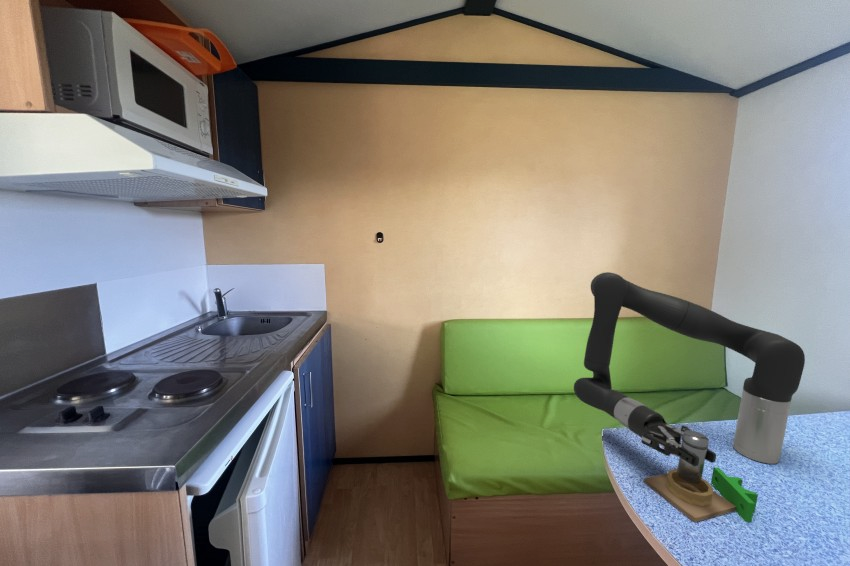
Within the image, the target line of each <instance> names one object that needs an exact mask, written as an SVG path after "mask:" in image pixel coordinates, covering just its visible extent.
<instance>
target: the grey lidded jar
mask: <svg viewBox="0 0 850 566" xmlns="http://www.w3.org/2000/svg"><path fill="white" fill-rule="evenodd" d="M681 437H682V438H681V443H682V445H681V447H684V448H685V449H687V450H688V451H690V452H692V453H693V454H695V455H696V456H698V457H699V463H698V466H693V465H691V464H690V463H688V462H686V461H685V460H683V459H682V458H680V457H679V456H678V457H679V458H678V463H677V468H676V469H677V474H678V476H679V477H681V478H682V479H683V480H685V481H687V482H690V483H694V484H699V483H701V479H702V478H703V475H704V474H703V473H704V468H705V463H706V459H705V458H706V452H707V449H709V441H710V440H709V438H708V437H707V436H706V435H704V434H703V433H700V432H698V431H695V430H692V431H691V429H690V430H686V431H684V434H683V436H681Z"/></svg>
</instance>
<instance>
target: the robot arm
mask: <svg viewBox="0 0 850 566" xmlns="http://www.w3.org/2000/svg"><path fill="white" fill-rule="evenodd" d="M590 292H591V294H592V296H593V301H594V304H593V306H594V307H593V311H594V312H593V319H592V324H591V327H590V330H589V334H588V338H587V341H586V346H585V353H584V359H583V367H584V368H585V369H586V370H588V371H590V372H592V377H580V378H578V379H576V380H575V382H574V383H573V392H574V395H575V396H576V397H577V398H578V400H580V401H581V402H582V403H584V404H586V405H587V406H591V407H593V408H595V409H597V410H600V411H603V412H605V413H606V414H608V415H609V416H611V418H612V419H613V418H614V419H615V420H616V421H618V422H619V424H621V425H622V426H624V427H626V429H627V430H630V431H631V432H632V433H634V434H635V435H637V436H638V437H640V438H641V443H642V444H643V445H645V446H647V447H649V448H651V449H653V450H655V451H657V452H659V453H661V454H663V455H665V456H666V457H669V456H670V455H672V456H674V457H680V458H682V459H683V460H685V461H686V462H688V463H690V464H691V465H693V466H698V463H699V457H698V456H696V455H695V454H693V453H692V452H690V451H688V450H687V449H685V448H684V447H681V445H682V442H681V441H682V436H683V434H684V431H686V430H691V429H690V428H689V427H688V426H686V425H681V427H680V428H678V427H677V428H676V426H674V425H672V424H668V423H667V422H666V420H665V418H664V416H663V415H662V414H660V413H659V412H657V411H655V410H654V409H652V408H650V407H648V406H647V405H645V404H643V403H642V402H640V401H637V400H636V399H633V398H631V397H629V396H628V395H625V394H624V393H622V392H620V391H619V390H615V389H612V381H611V380H612V378H611V371H610V365H611V358H612V355H613V354H612V353H613V347H614V346H613V345H614V339H615V332H616V327H617V323H618V319H619V315H620V312H621V310H622V308H626V309H628V310H631V311H633V312H635V313H637V314H640V315H641V316H642V317H644V318H647V319H648V320H650V321H652V322H654V323H655V324H657V325H659V326H662V327H664V328H666V329H668V330H670V331H673V332H675V333H678V334H680V335H682V336H685V337H688V338H691V339H695V340H698V341H702V342H708V343H713V344H716V345H720V346H723V347H725V348H727V349H730V350H732V351H734V352H736V353H737V354H740V355H742V356H744V357H746V358H747V359H749V360H750V361H752V362H753V363H754V367H753V373H752V376H751V377H747V378H745V379H744V381H743V387H742V393H741V399H740V404H739V410H738V415H737V420H736V427H735V432H734V438H733V442H732V443H733V444H732V447H733V448H734V450H735V451H736V452H737V453H739V454H741V455H742V456H744V457H746V458H748V459H750V460H753V461H756V462H760V463H764V464H769V465H772V464H773V465H774V464H778V463H779V462H780V458H781V455H782V451H783V450H782V449H783V445H784V440H785V435H786V429H787V425H788V418H789V412H790V408H791V403H792V400H793V399H792V397H793V395H794V394H796V392H797V391H798V389H799V387H800V383H801V379H802V375H803V372H804V369H805V363H806V362H805V361H806V360H805V359H806V356H805V352H804V350H803V348H802V347H801V346H800V345H798V344H797V343H796V342H794V341H792V340H791V339H789V338H786V337H783V336H782V335H779V334H776V333H773V332H771V331H770V332H769V331H766V330H762V329H758V328H755V327H753V326H752V327H751V326H749V325H745V324H742V323H739V322H736V321H734V320H732V319H729V318H727V317H725V316H723V315H721V314H719V313H717V312H715V311H713V310H711V309H709V308H706V307H704V306H702V305H699V304H697V303H694V302H692V301H689V300H687V299H684V298H681V297H677V296H673V295H670V294H666V293H662V292H658V291H655V290H651V289H647V288H644V287H642V286H640V285H637V284H635V283H633V282H630V281H629V280H627V279H625V278H623V276H621V275H620V274H617V273H614V272H601V273H599V274H597V275H596V276H594V277H593V279H592V280H591V282H590ZM691 431H693V430H691ZM660 446H661V447H660ZM716 459H717V454H716V453H715V452H714V451H712V450H711V449H709V448H708V449H707V452H706V458H705V461H708V462H709V463H715V462H716Z"/></svg>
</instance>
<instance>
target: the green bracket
mask: <svg viewBox="0 0 850 566" xmlns="http://www.w3.org/2000/svg"><path fill="white" fill-rule="evenodd" d="M711 483H712V484H713V485H712V484H711ZM710 484H711V485H712V487H714V489H715V490H716V489H717V490H718V491H719V492H720V493H719V492H718V491H717V490H716V491H717V492H718V493H719V495H720V496H722V497H723V498H724V499H726V500H727V501H729V502H730V503H732V504H733V505H735V506H736V511H735V512H736V513H737V514H738V515H739V516H740V518H741V519H742V520H743V521H744V522H747V523H752V521H753V516H754V515H753V514H754V513H756V507H757V502H758V495H759V494H758V493H757V492H755V491H752V490H748V489H747V488H744V487H743V486H742V485H743V479H742V477H737V476H728V475H727V474H726V473H725V472H724V471H723V470H722V469H721V468H720V467H717V466H716V467H715V466H713V467H712V474H711V481H710Z"/></svg>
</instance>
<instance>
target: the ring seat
mask: <svg viewBox="0 0 850 566" xmlns="http://www.w3.org/2000/svg"><path fill="white" fill-rule="evenodd" d="M643 483H645V485H647V486H648V487H649V488H650V489H652V490H653V491H654V492H656V494H658V495H659V496H661V498H663V499H664V500H666V501H667V502H668V503H669V504H671V505H672V506H673V507H674V508H675V509H676V510H678V511H680V512H681V514H683V515H684V516H685V517H687V518H688V519H689V520H690V521H691V522H693V523H698V522H701V521H704V520H705V521H706V520H709V519H711V518H716V517H719V516H722V515H725V514H729V512H730V513H732V512H736V506H735V505H733V504H732V503H730V502H729V501H727V500H726V499H725V498H724V497H723V496H722V495H721V494H720V493H719V494H718V493H717V492H715V491H714V488H713V486H712V484H711V483H709V481H707V480H705V479H704V478H703V477H702V479H701V483H699V484H694V483H690V482H687V481H685V480H683V479H682V478H681V477H679V476H678V474H677V468H675V469H669V470H668V472H666V473H662V474H656V475H652V476H648V477H644V479H643Z"/></svg>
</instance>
